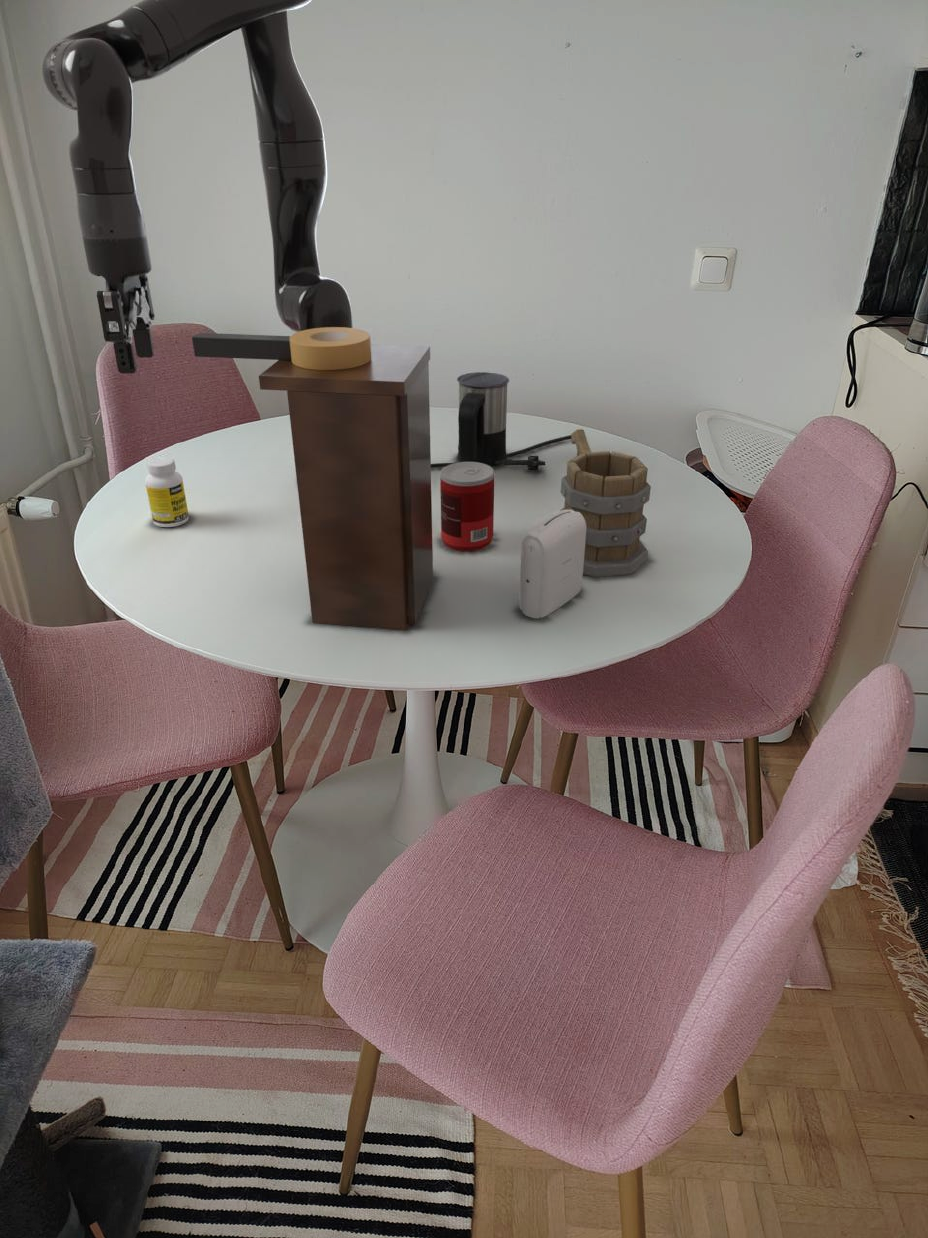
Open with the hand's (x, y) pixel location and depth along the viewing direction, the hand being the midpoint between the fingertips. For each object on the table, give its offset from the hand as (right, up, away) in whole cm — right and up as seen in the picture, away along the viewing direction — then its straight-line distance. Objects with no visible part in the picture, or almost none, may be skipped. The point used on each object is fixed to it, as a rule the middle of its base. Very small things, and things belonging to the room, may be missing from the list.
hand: (137, 364), depth 114 cm
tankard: (+63, -23, +12) cm, 68 cm away
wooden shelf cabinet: (+31, -31, -1) cm, 44 cm away
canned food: (+44, -23, +13) cm, 51 cm away
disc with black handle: (+23, -4, -16) cm, 28 cm away
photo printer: (+55, -32, -2) cm, 64 cm away
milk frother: (+50, -7, +39) cm, 64 cm away
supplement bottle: (-2, -19, +19) cm, 27 cm away
